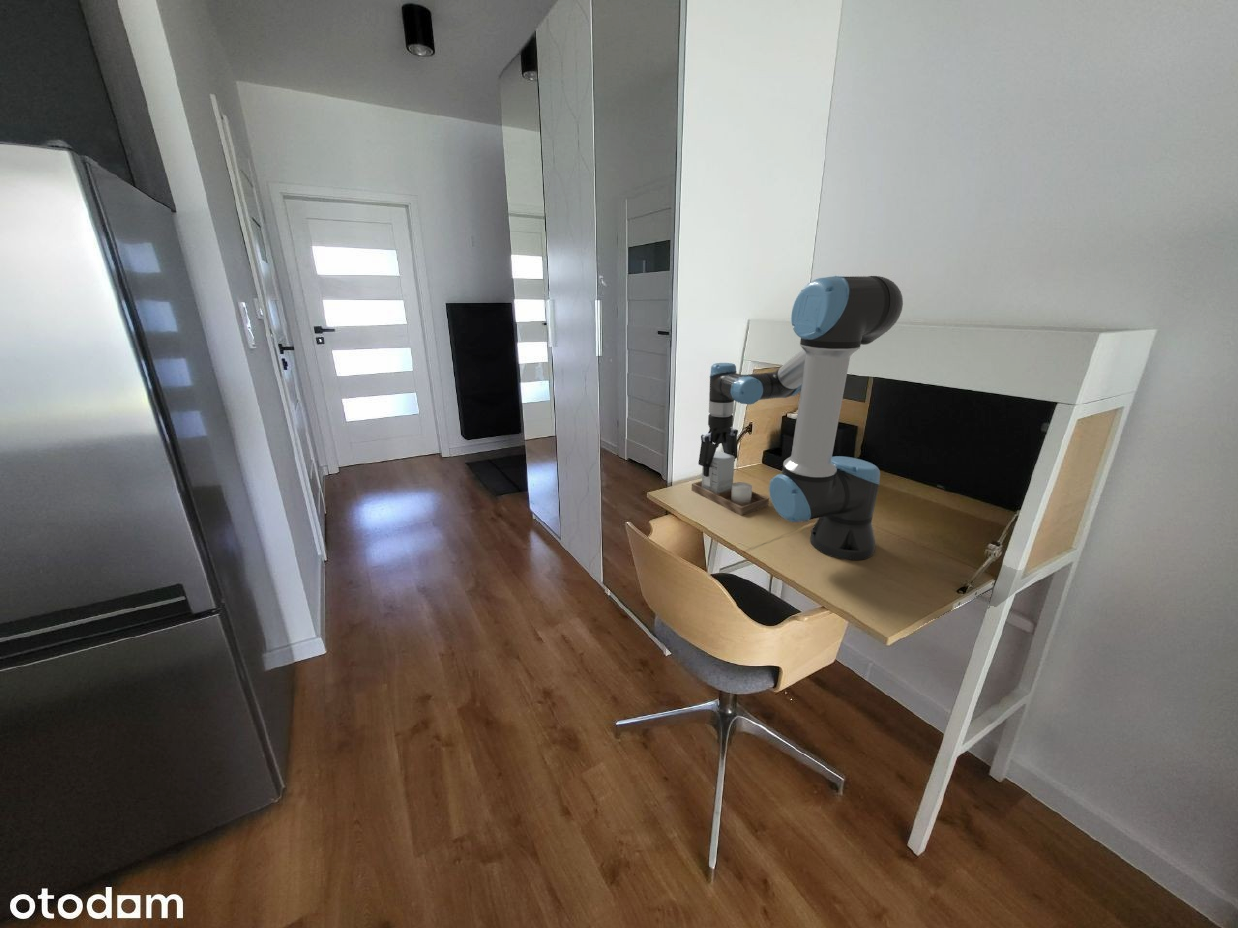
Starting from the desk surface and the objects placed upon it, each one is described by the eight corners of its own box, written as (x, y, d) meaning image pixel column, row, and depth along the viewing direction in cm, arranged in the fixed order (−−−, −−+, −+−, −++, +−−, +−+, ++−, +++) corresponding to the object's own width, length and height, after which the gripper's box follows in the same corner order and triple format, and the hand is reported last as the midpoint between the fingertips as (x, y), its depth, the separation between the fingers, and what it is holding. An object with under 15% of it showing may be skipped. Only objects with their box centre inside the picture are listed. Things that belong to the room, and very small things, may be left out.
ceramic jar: (754, 504, 141) (756, 486, 139) (740, 509, 138) (742, 491, 136) (740, 498, 146) (741, 480, 144) (726, 502, 143) (727, 485, 141)
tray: (768, 507, 140) (768, 498, 139) (740, 517, 135) (741, 508, 134) (717, 484, 158) (717, 476, 157) (691, 492, 153) (691, 483, 152)
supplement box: (716, 485, 155) (718, 450, 151) (733, 492, 149) (735, 456, 145) (700, 490, 151) (702, 454, 147) (716, 497, 146) (718, 460, 141)
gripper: (735, 407, 149) (731, 472, 157) (687, 416, 140) (685, 485, 147) (753, 411, 143) (747, 479, 151) (704, 421, 133) (701, 493, 141)
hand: (717, 482), depth 149 cm, fingers closed on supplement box, 7 cm apart
